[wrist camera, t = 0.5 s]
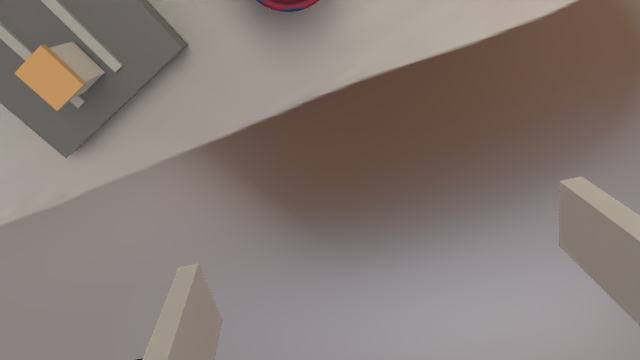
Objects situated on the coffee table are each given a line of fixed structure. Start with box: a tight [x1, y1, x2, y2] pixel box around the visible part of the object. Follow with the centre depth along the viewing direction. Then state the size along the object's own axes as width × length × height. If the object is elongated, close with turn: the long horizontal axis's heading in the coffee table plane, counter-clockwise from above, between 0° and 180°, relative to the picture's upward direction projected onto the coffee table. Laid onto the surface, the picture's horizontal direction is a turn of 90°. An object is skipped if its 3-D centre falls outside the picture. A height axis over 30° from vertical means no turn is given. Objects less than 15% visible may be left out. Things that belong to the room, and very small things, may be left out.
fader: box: [14, 42, 105, 111], centre depth 32 cm, size 3×3×5 cm
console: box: [0, 0, 188, 158], centre depth 32 cm, size 20×14×3 cm
